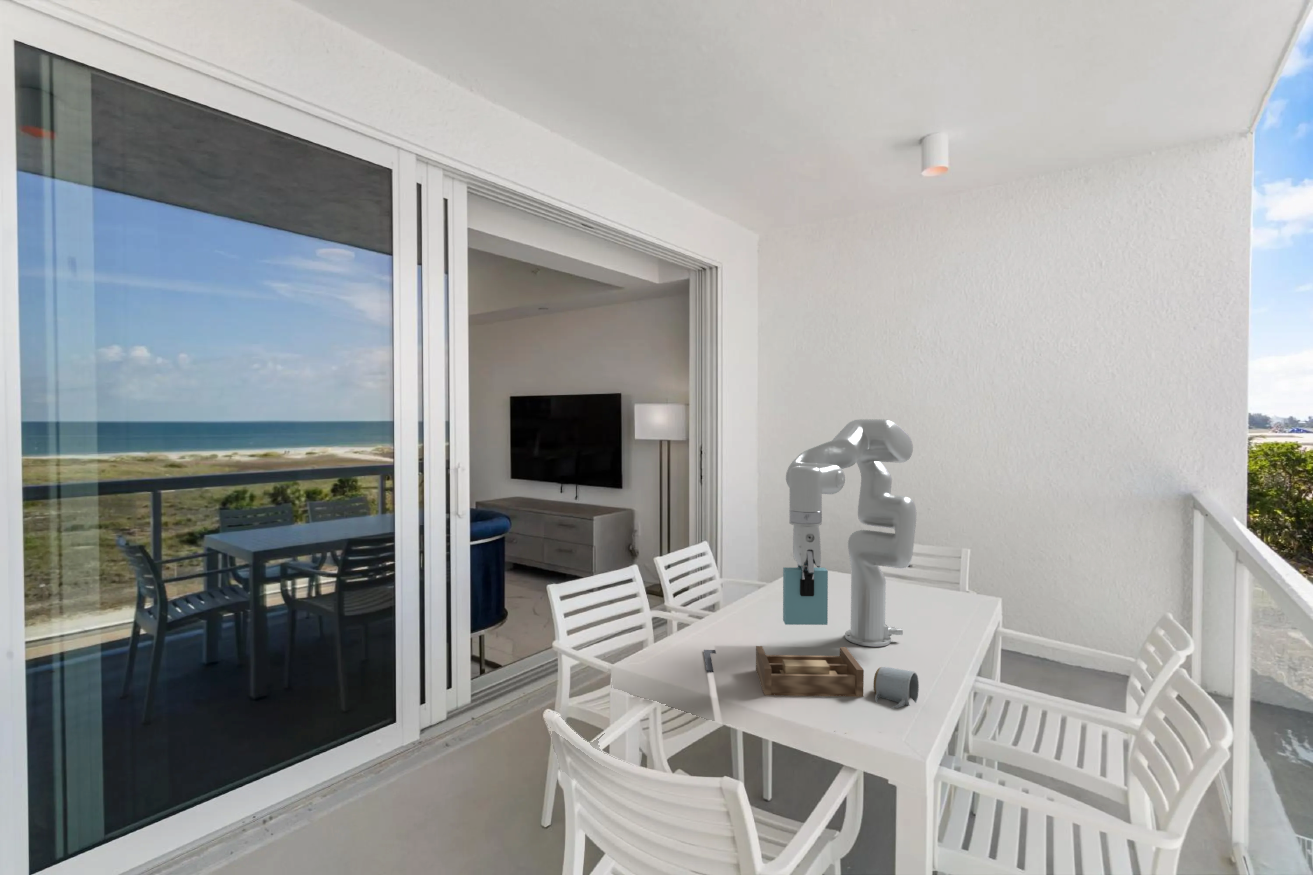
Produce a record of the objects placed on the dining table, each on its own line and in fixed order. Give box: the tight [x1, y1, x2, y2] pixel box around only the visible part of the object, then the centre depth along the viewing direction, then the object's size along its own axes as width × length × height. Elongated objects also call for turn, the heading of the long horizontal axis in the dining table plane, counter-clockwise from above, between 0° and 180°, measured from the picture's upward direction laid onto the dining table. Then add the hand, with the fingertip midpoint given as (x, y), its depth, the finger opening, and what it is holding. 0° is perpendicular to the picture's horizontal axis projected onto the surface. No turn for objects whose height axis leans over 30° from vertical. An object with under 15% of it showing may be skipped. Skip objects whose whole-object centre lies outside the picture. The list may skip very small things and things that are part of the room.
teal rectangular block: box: [782, 567, 829, 626], centre depth 148 cm, size 10×3×13 cm, turn 89°
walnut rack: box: [755, 645, 865, 698], centre depth 145 cm, size 22×14×8 cm, turn 89°
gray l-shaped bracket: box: [703, 649, 717, 673], centre depth 161 cm, size 16×14×1 cm
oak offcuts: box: [779, 660, 837, 674], centre depth 142 cm, size 13×4×6 cm, turn 89°
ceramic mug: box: [872, 666, 920, 709], centre depth 137 cm, size 11×8×8 cm
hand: (805, 592), depth 148 cm, fingers closed on teal rectangular block, 3 cm apart
